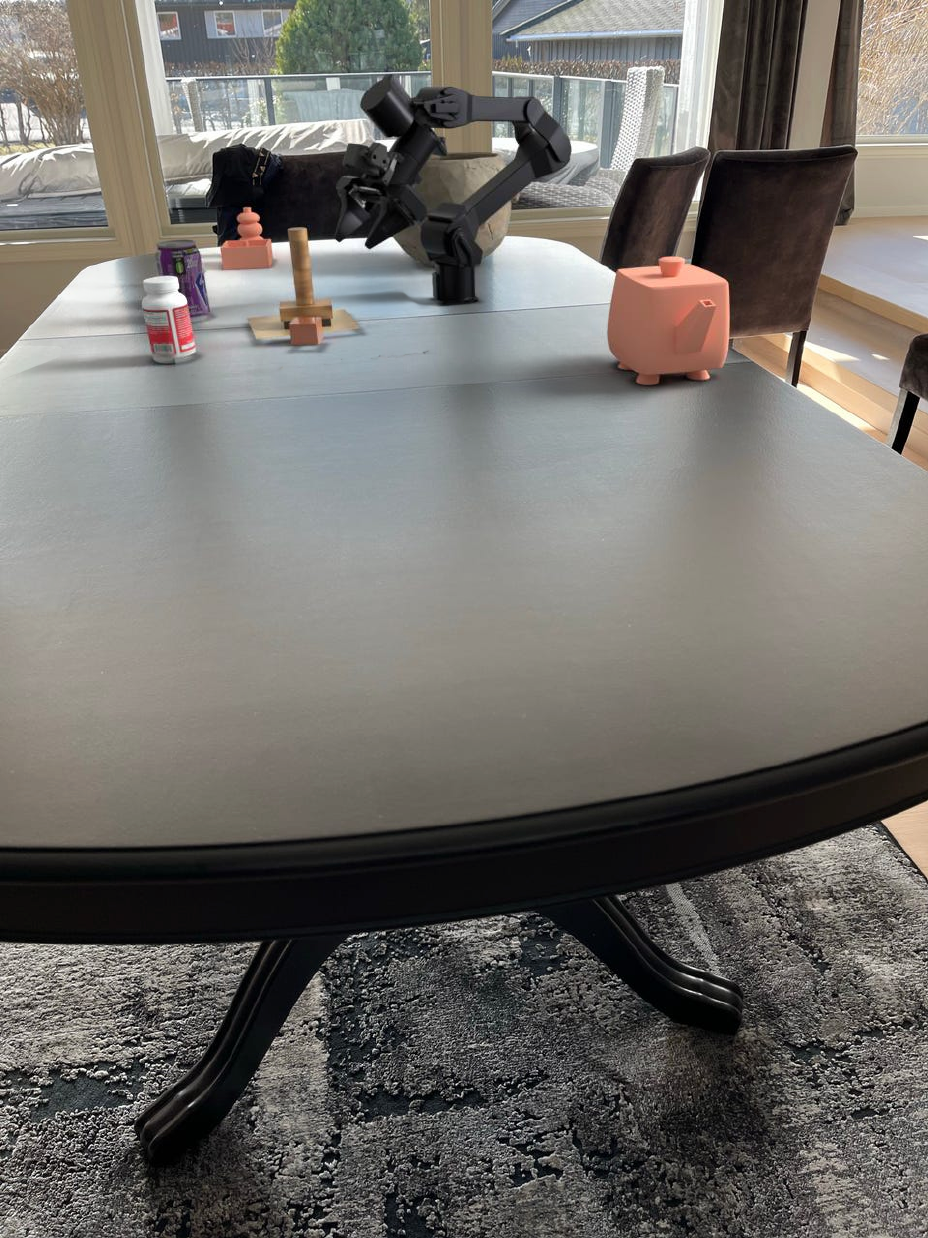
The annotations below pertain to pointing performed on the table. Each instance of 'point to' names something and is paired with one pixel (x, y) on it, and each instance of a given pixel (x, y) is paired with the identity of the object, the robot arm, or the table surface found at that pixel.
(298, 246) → the wooden stamp
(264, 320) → the board
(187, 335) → the pill bottle
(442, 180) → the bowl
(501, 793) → the table surface
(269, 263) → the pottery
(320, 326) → the cube
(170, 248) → the beverage can
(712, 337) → the teapot
